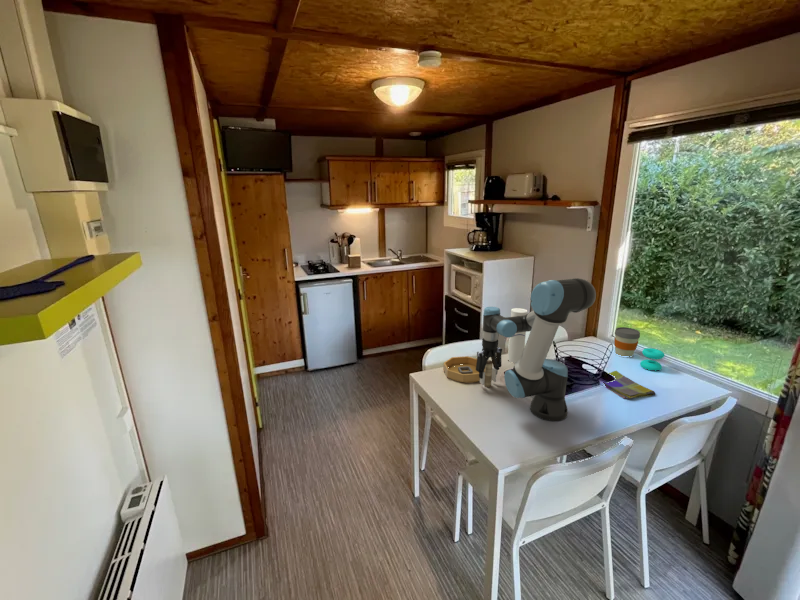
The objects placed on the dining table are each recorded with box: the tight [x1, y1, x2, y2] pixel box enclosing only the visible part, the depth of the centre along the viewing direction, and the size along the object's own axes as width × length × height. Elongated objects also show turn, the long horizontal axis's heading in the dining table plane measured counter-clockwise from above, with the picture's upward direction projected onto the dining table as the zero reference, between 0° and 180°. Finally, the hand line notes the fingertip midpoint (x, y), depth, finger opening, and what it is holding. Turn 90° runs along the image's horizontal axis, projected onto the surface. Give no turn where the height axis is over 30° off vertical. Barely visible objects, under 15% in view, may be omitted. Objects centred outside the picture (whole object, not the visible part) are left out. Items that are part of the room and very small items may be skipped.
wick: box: [483, 359, 493, 388], centre depth 184 cm, size 3×3×13 cm
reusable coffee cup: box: [613, 326, 641, 356], centre depth 218 cm, size 13×13×15 cm
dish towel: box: [603, 370, 656, 400], centre depth 184 cm, size 18×24×3 cm
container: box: [507, 307, 529, 364], centre depth 210 cm, size 9×9×30 cm
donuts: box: [639, 347, 665, 372], centre depth 202 cm, size 10×10×10 cm
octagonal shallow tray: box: [442, 355, 485, 384], centre depth 199 cm, size 22×22×5 cm
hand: (487, 382), depth 185 cm, fingers open, 6 cm apart
